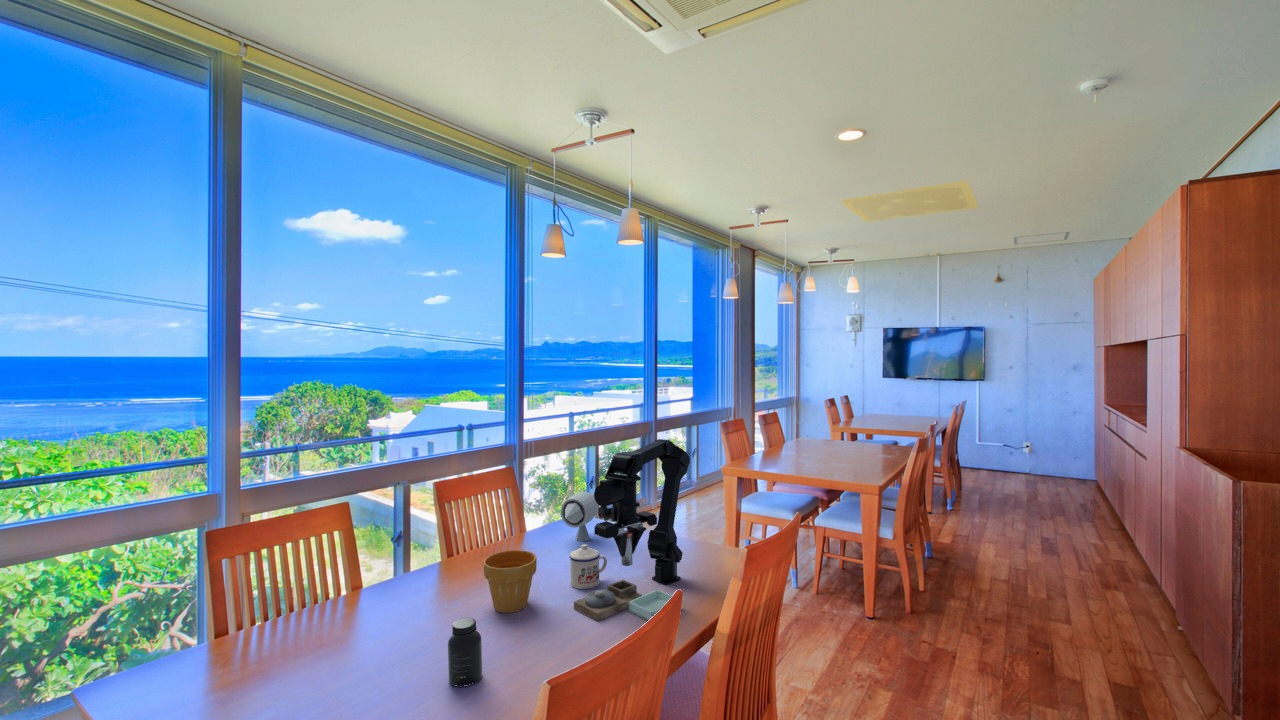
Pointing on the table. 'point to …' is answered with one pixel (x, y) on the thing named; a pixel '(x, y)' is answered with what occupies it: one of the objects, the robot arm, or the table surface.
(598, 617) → the block
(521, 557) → the flower pot
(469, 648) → the supplement bottle
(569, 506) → the jet engine
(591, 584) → the teacup with lid
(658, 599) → the tray
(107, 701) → the table surface
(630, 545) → the pin
